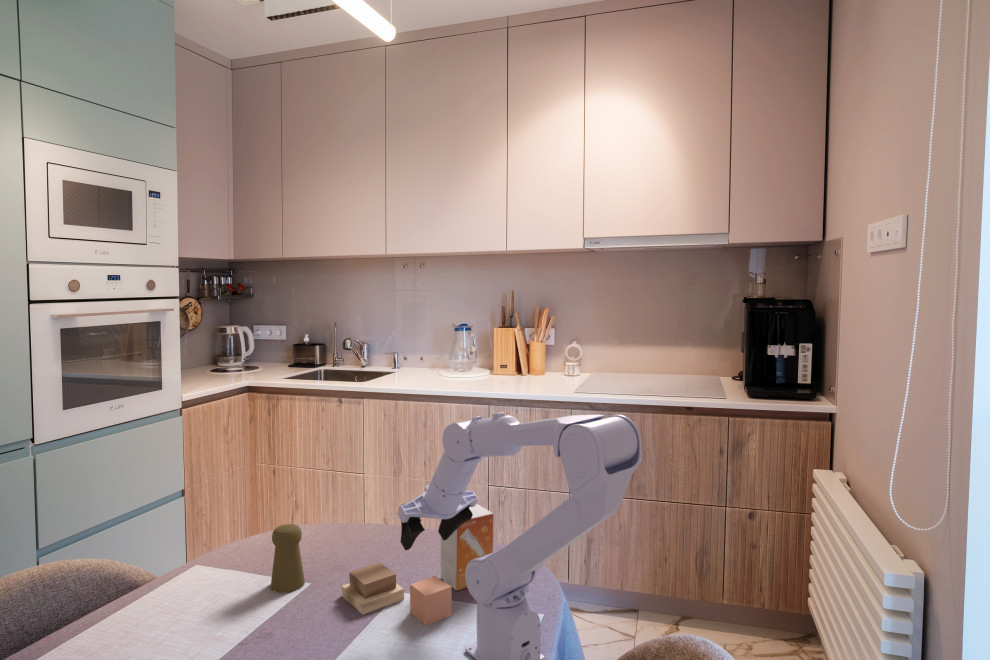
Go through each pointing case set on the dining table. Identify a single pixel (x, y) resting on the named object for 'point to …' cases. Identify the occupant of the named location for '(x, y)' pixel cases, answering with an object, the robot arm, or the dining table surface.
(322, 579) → the dining table surface
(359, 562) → the dining table surface
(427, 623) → the terracotta cube
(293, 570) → the olive game pawn
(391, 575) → the walnut top slab
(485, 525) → the small box
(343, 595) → the birch base slab
